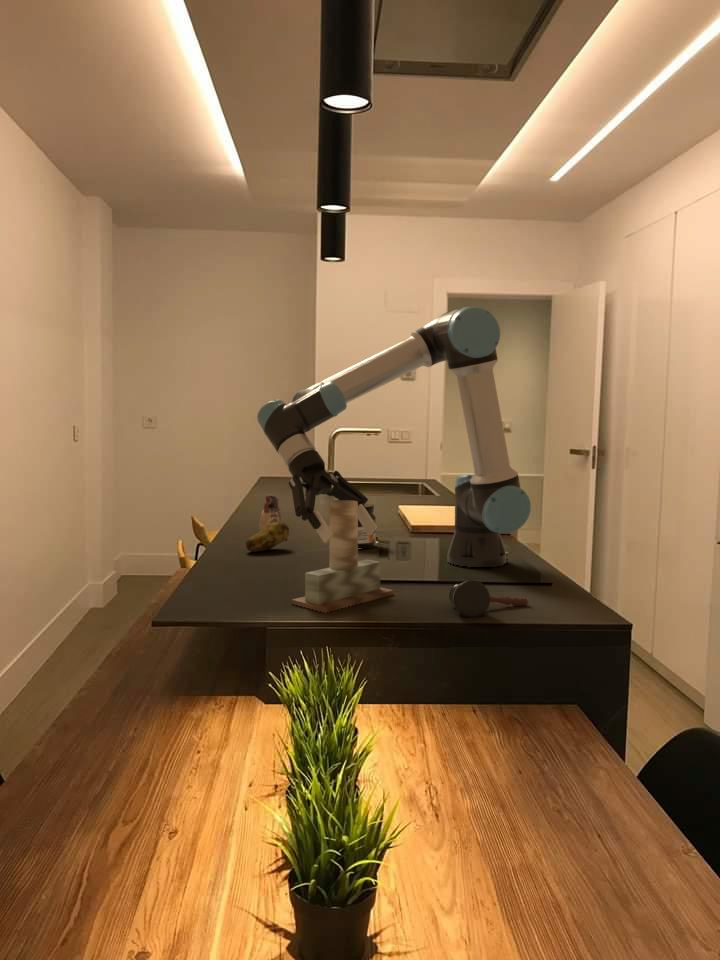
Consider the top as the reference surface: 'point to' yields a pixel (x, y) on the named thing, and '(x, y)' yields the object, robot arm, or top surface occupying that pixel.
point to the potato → (268, 537)
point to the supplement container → (363, 536)
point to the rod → (343, 534)
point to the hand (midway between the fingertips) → (352, 535)
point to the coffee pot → (477, 599)
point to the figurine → (270, 511)
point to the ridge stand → (342, 587)
